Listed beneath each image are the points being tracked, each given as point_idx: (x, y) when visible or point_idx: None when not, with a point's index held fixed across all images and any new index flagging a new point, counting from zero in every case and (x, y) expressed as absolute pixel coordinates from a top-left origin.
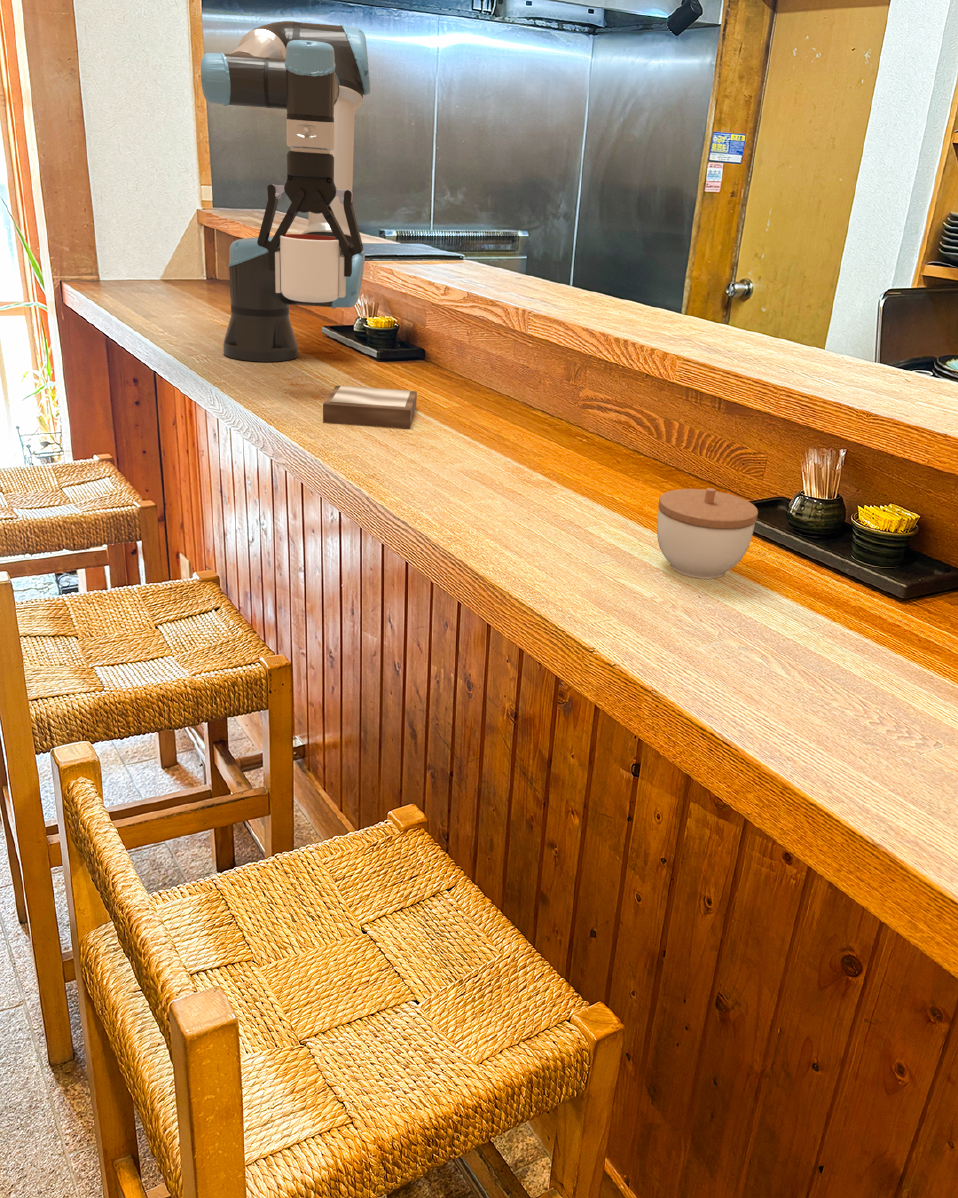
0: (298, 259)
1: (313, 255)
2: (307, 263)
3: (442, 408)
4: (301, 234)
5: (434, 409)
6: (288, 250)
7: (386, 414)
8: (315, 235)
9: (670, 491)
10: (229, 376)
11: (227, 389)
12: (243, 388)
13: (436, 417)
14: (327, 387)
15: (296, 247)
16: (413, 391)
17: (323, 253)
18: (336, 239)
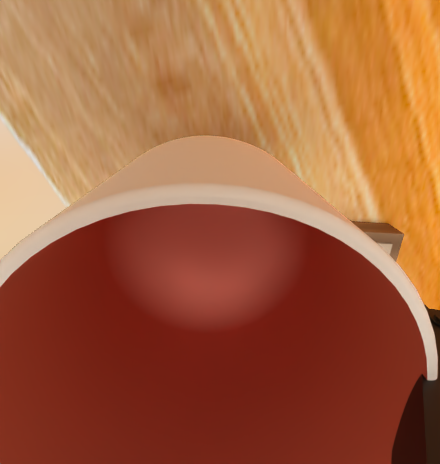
0: (164, 433)
1: (235, 457)
2: (206, 424)
3: (434, 211)
4: (74, 229)
5: (418, 221)
6: (102, 450)
7: None
8: (216, 201)
9: None
10: (11, 32)
11: (54, 162)
12: (78, 145)
13: (409, 269)
14: (233, 92)
15: None
16: (397, 236)
17: (284, 455)
18: (393, 458)
